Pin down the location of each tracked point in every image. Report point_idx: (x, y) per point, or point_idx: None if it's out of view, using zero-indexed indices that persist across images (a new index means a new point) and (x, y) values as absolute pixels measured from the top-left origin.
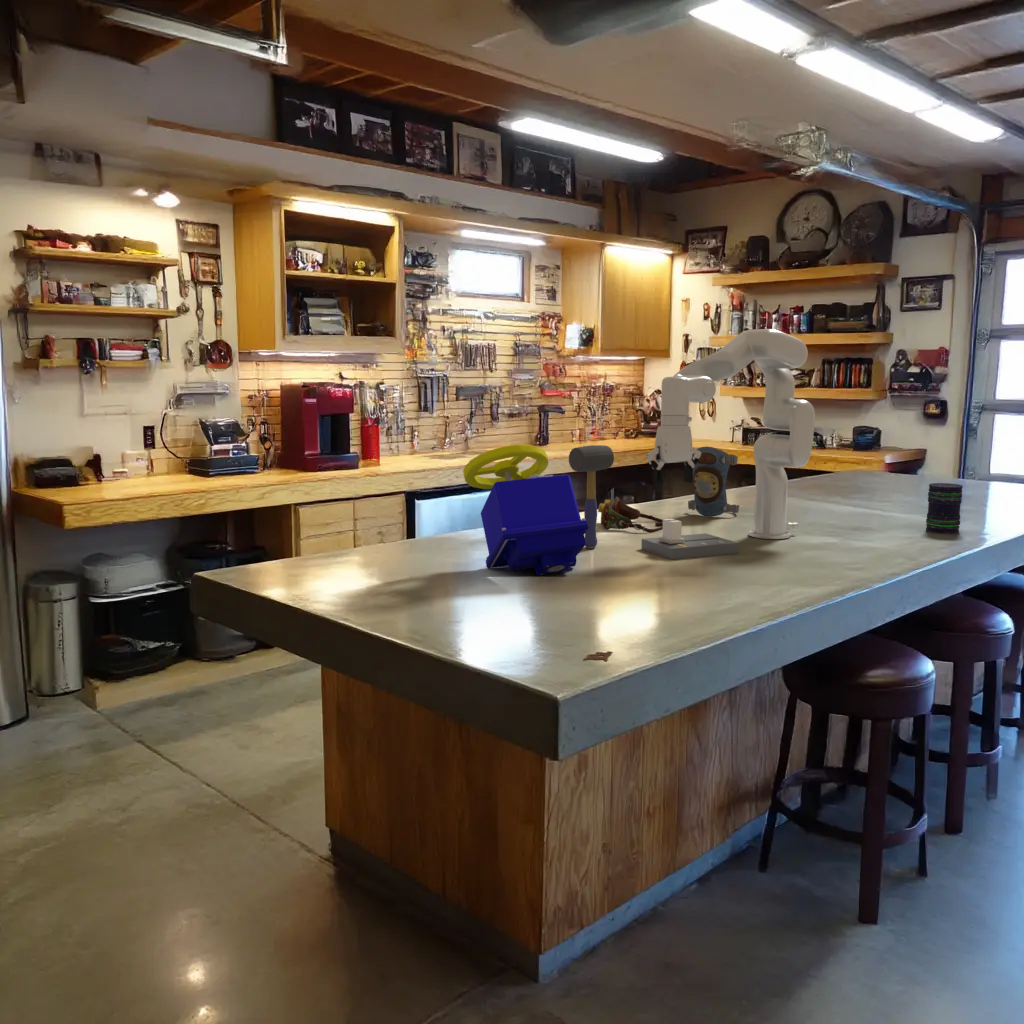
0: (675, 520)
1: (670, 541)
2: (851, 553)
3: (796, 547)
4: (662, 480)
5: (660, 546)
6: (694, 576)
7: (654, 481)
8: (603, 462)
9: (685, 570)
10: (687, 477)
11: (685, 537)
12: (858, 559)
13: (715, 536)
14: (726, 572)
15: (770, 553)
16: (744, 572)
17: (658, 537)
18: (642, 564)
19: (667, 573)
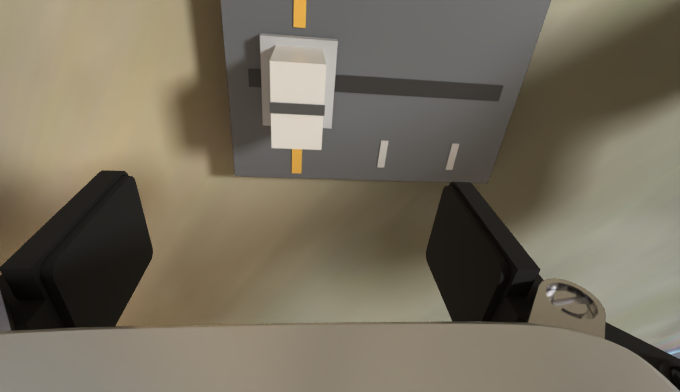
0: (310, 118)
1: (266, 123)
2: (665, 265)
3: (664, 171)
4: (141, 276)
5: (230, 105)
6: (202, 309)
7: (98, 173)
8: None
9: (211, 266)
10: (443, 253)
11: (414, 17)
12: (608, 304)
13: (527, 58)
14: (289, 304)
15: (537, 202)
16: (324, 314)
17: (260, 35)
18: None
19: (152, 274)
